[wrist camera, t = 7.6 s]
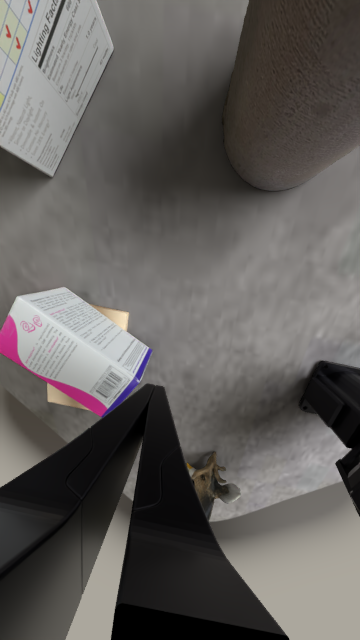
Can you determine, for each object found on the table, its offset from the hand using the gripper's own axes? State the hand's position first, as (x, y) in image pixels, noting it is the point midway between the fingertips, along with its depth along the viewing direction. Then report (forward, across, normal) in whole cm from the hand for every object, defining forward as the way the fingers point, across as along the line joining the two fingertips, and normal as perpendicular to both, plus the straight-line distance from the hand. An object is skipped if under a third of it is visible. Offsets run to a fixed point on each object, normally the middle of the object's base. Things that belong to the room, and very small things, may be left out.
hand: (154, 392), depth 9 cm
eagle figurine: (+12, -7, +21) cm, 26 cm away
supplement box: (+8, +3, +6) cm, 11 cm away
